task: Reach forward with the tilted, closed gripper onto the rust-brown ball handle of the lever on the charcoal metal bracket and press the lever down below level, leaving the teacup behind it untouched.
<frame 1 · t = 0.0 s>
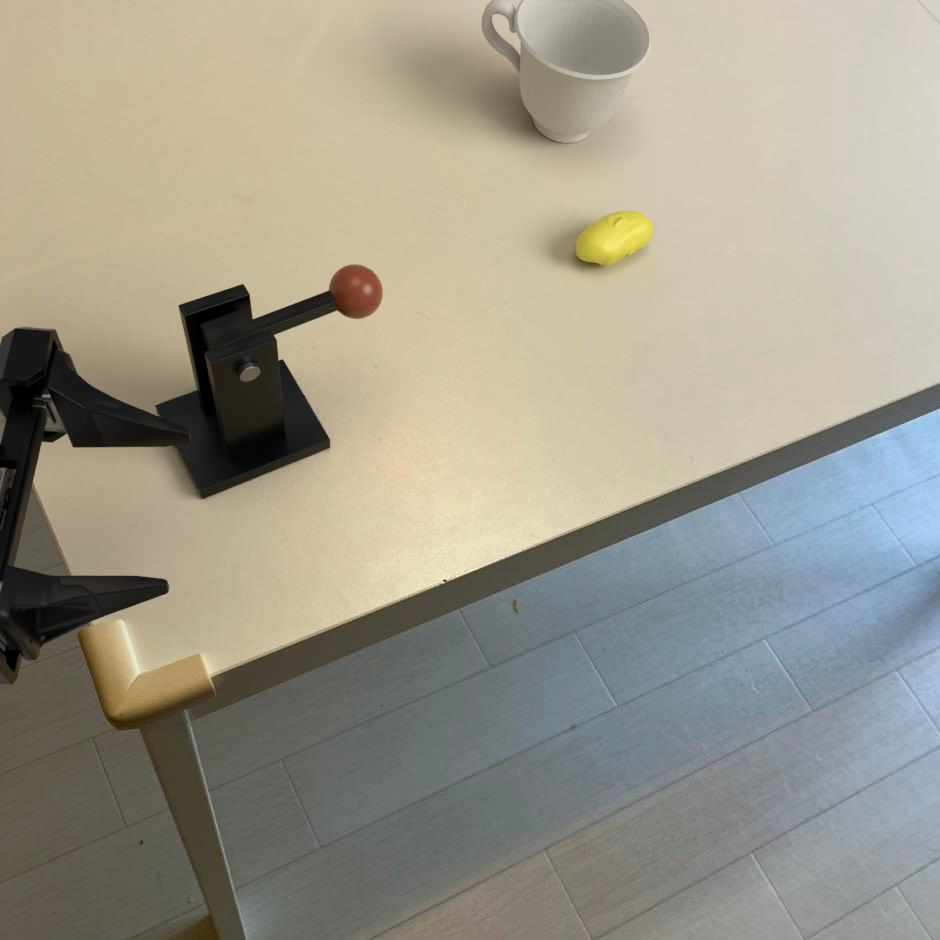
hand: (179, 508, 55), 16 cm above the table, tool horizontal, fingers open, 9 cm apart
bracket: (244, 431, 76), on the table
lever: (297, 314, 68), point 11 cm above the table, hinge at 3.0°
teacup: (547, 118, 97), on the table
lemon: (608, 253, 90), on the table
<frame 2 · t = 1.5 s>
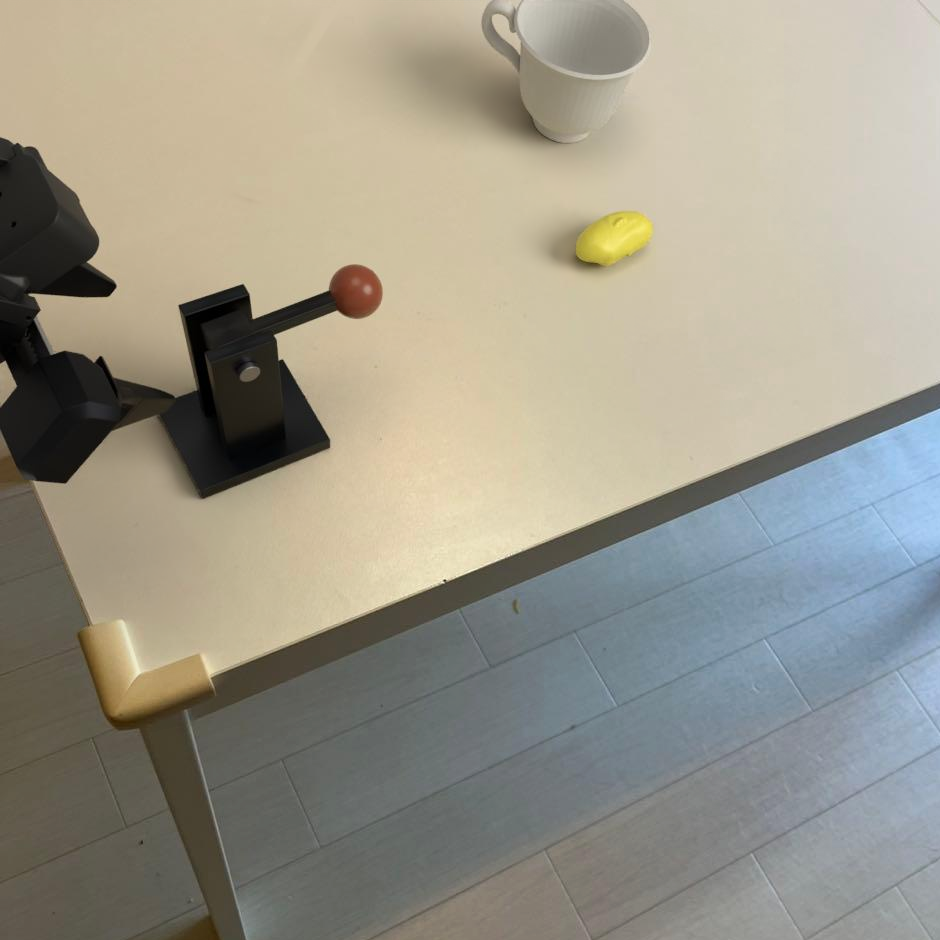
hand: (141, 345, 62), 14 cm above the table, tool tilted 45°, fingers open, 9 cm apart
nothing on the table moved.
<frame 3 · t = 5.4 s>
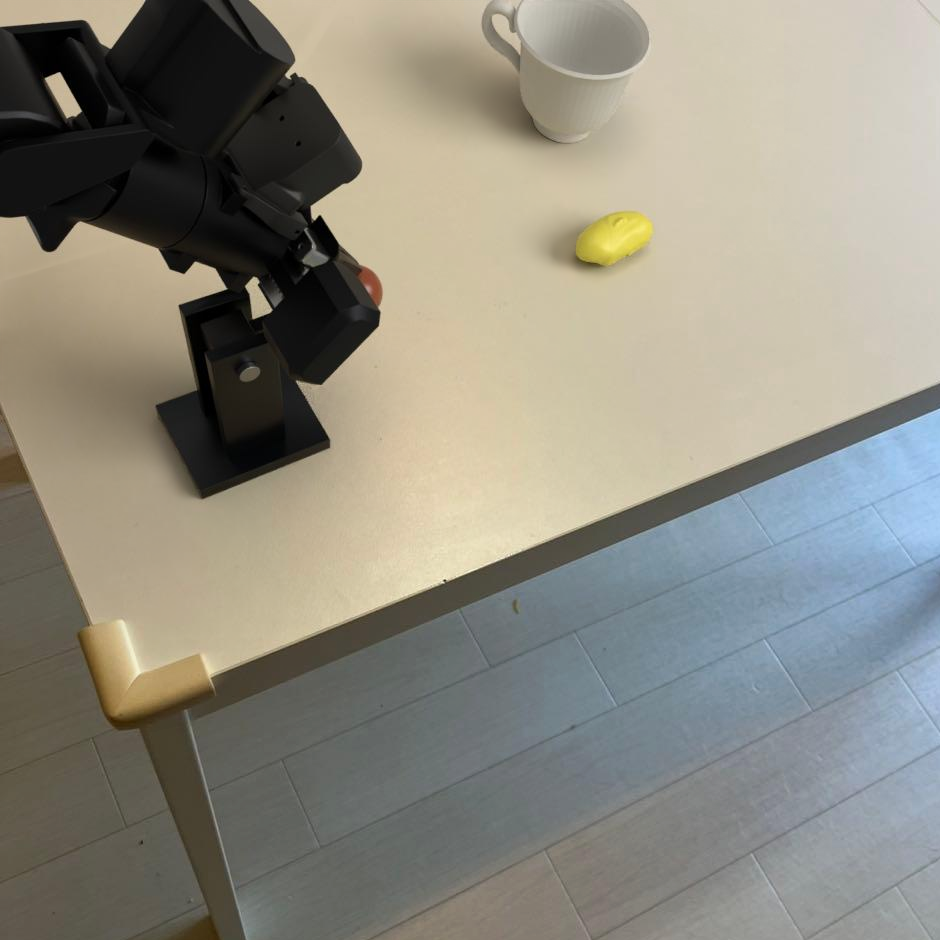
hand: (355, 271, 67), 14 cm above the table, tool tilted 45°, fingers closed, pressing on lever
lever: (297, 314, 68), point 11 cm above the table, hinge at 2.9°, touching gripper
everything else where it was.
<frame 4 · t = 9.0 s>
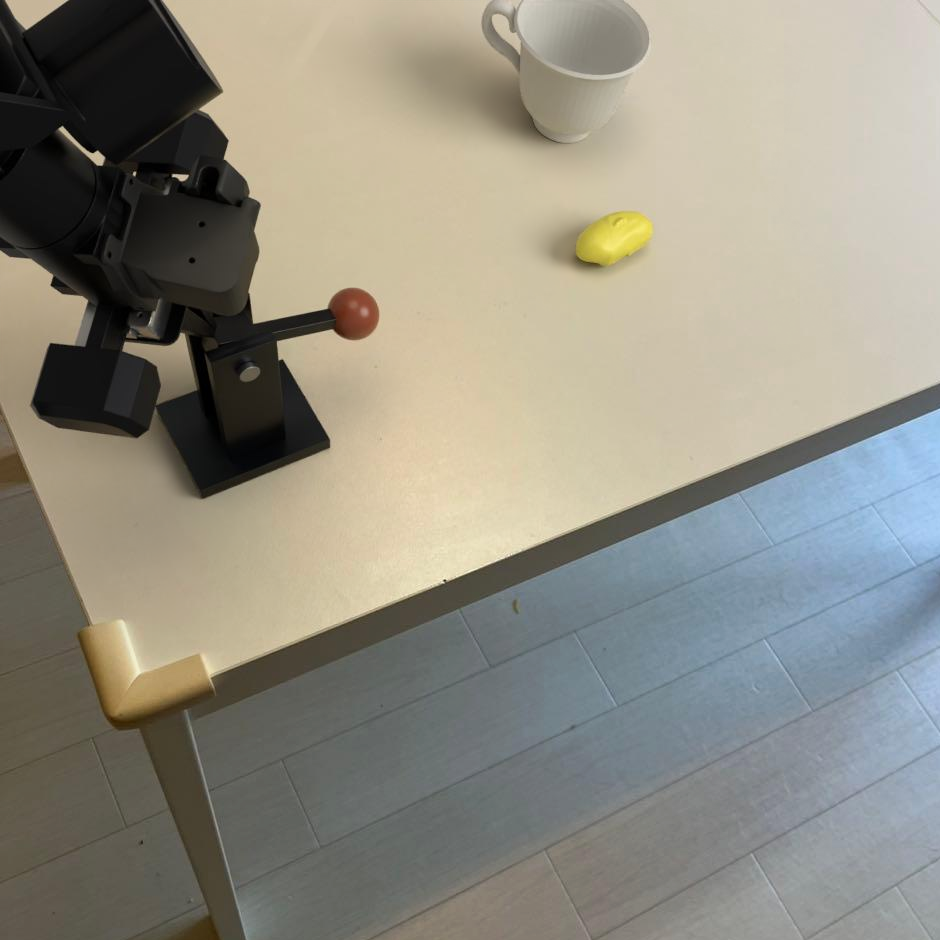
hand: (209, 332, 64), 13 cm above the table, tool tilted 25°, fingers closed
lever: (296, 326, 69), point 10 cm above the table, hinge at -11.6°
everything else where it was.
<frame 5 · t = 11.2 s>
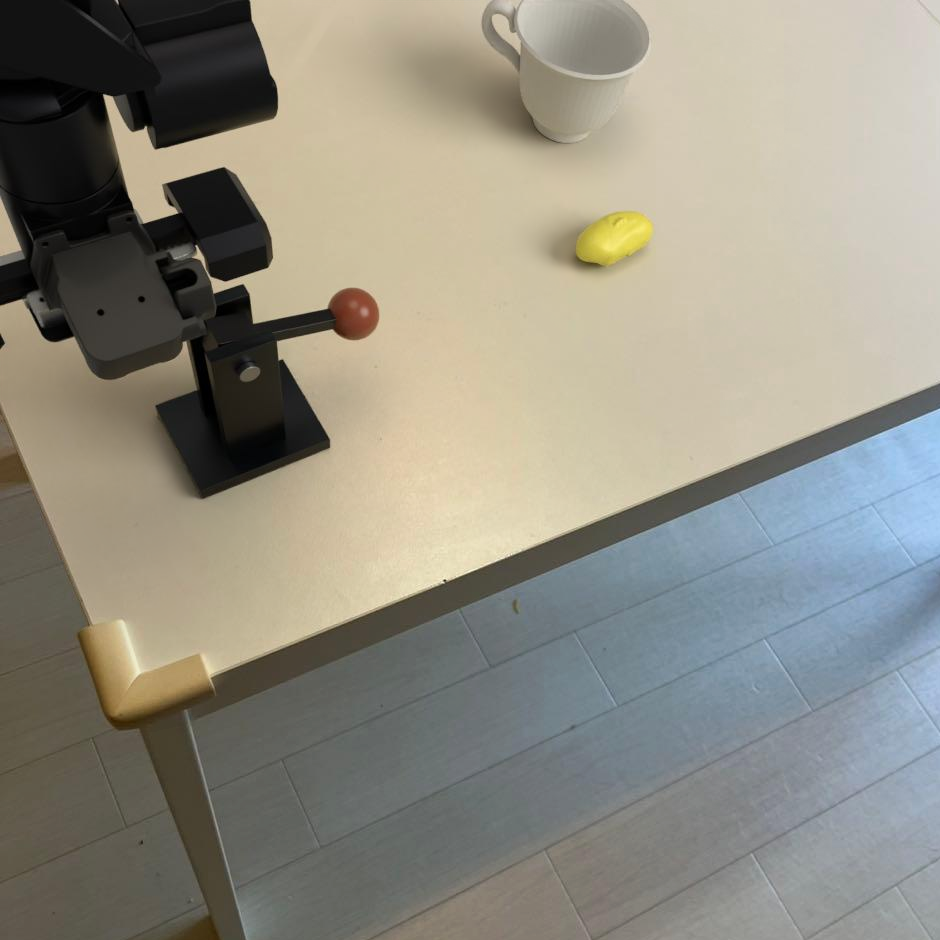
hand: (118, 357, 62), 13 cm above the table, tool pointing down, fingers closed
nothing on the table moved.
at the end: lever at -12° (first picture: +3°); teacup moved 0.2 cm from its start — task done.
